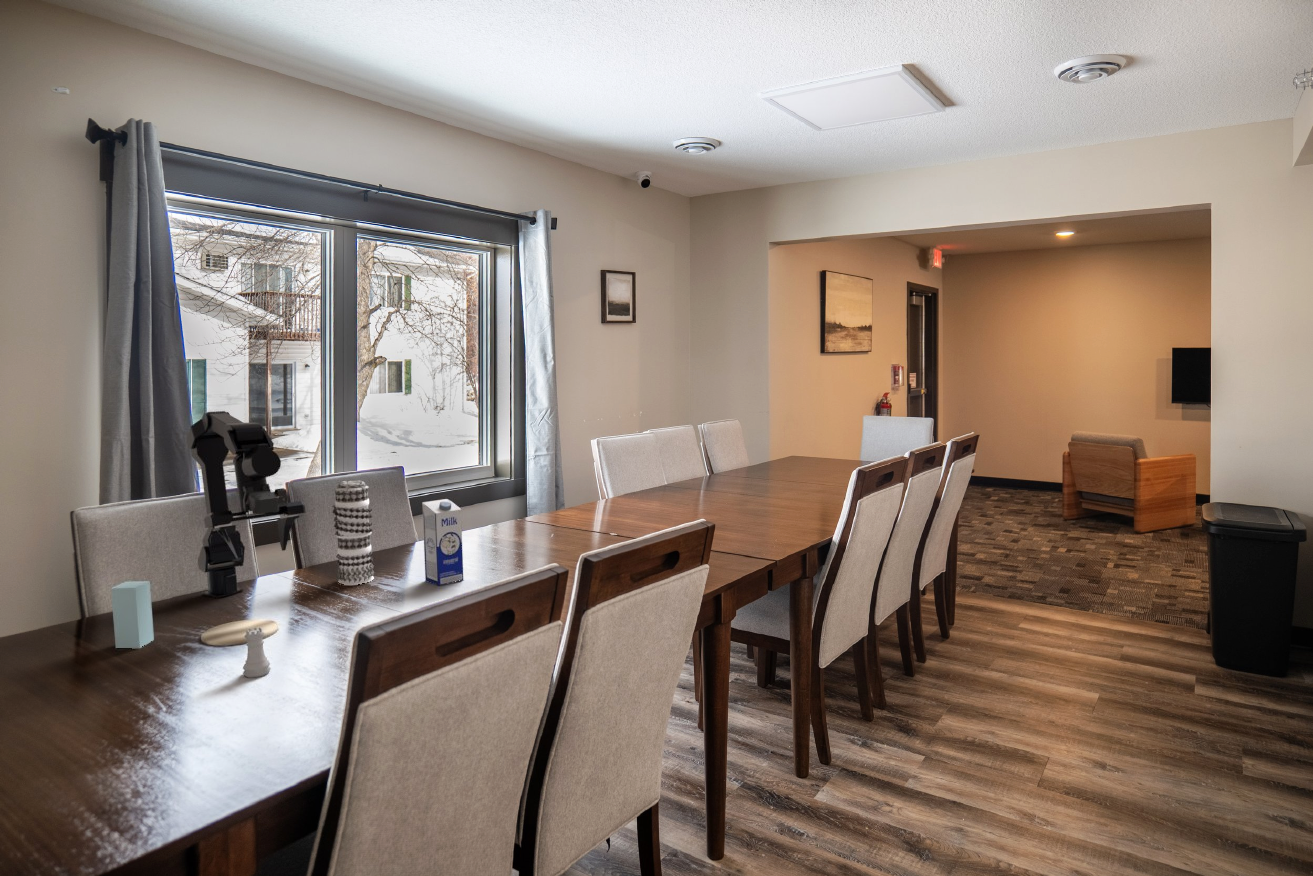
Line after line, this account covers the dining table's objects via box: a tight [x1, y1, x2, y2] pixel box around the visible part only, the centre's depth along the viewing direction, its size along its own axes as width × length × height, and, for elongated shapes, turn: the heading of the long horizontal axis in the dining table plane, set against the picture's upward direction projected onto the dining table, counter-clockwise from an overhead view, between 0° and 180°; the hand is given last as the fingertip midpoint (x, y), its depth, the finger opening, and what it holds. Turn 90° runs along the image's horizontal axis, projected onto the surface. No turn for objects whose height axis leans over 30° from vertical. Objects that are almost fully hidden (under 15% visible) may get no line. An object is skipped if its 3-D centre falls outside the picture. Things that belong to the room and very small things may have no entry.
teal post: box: [110, 580, 155, 649], centre depth 159 cm, size 5×5×12 cm
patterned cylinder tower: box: [332, 479, 375, 586], centre depth 202 cm, size 9×9×25 cm
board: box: [200, 618, 280, 647], centre depth 165 cm, size 14×14×1 cm
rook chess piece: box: [242, 628, 271, 679], centre depth 144 cm, size 4×4×8 cm
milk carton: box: [421, 498, 464, 587], centre depth 201 cm, size 7×7×20 cm
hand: (261, 554), depth 172 cm, fingers open, 9 cm apart
